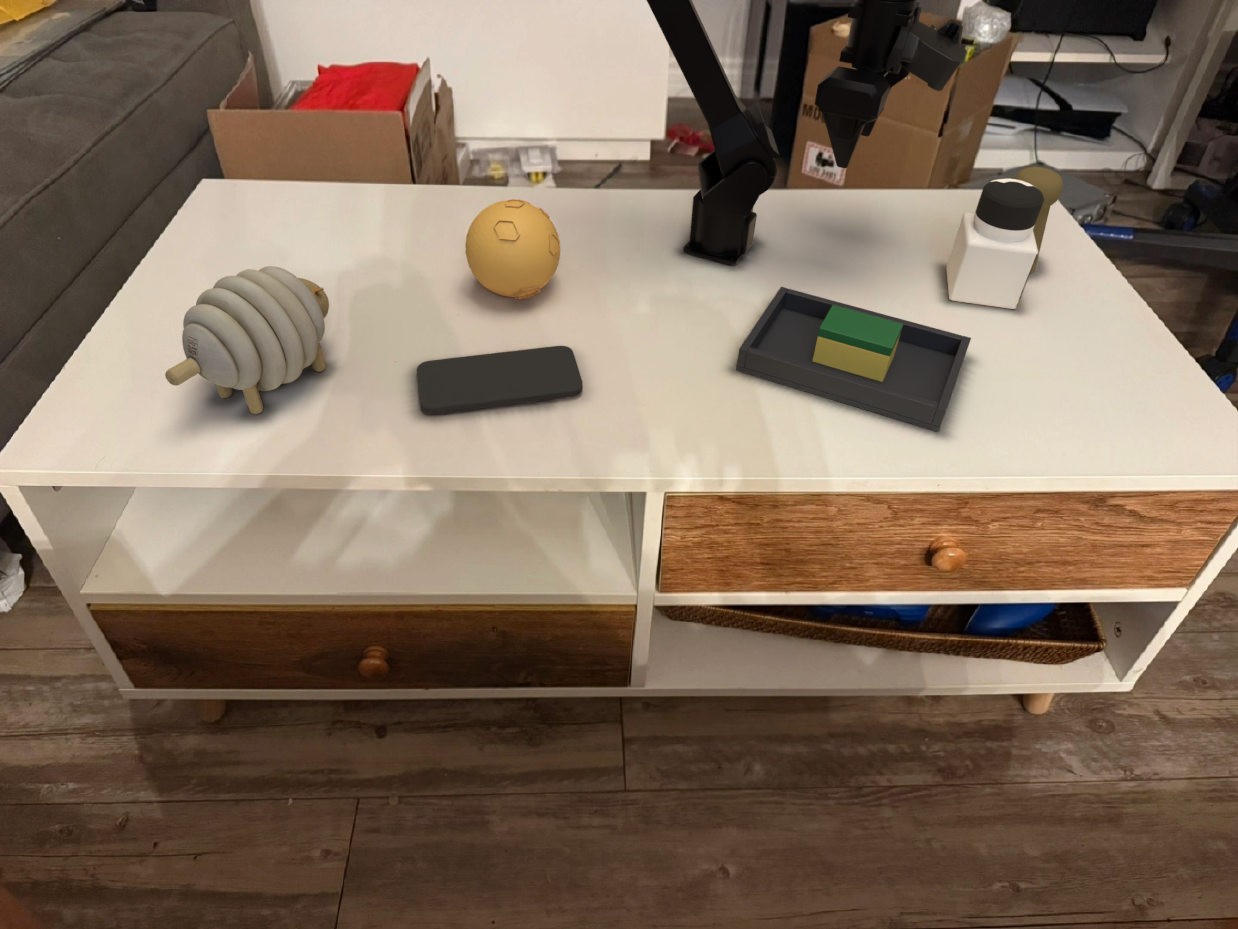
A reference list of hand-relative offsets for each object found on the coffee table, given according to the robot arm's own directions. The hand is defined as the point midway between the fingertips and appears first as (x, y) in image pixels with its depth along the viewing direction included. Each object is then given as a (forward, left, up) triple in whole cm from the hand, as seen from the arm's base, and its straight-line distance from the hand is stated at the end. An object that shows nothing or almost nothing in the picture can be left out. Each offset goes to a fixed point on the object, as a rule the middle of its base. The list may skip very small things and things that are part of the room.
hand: (853, 150), depth 96 cm
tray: (+8, -21, -12) cm, 25 cm away
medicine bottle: (+17, 0, -12) cm, 21 cm away
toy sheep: (-40, -50, -12) cm, 65 cm away
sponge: (+8, -21, -11) cm, 25 cm away
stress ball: (-28, -25, -12) cm, 39 cm away
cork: (+19, +7, -12) cm, 24 cm away
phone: (-21, -40, -12) cm, 47 cm away
